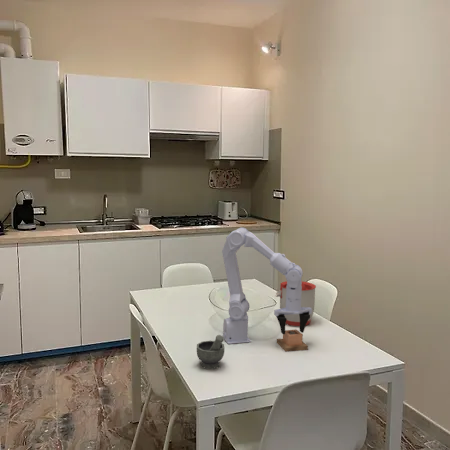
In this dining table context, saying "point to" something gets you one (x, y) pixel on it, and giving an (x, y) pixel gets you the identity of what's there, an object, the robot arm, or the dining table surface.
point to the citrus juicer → (306, 301)
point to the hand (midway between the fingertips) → (292, 332)
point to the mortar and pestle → (211, 352)
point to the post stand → (291, 348)
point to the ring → (292, 338)
